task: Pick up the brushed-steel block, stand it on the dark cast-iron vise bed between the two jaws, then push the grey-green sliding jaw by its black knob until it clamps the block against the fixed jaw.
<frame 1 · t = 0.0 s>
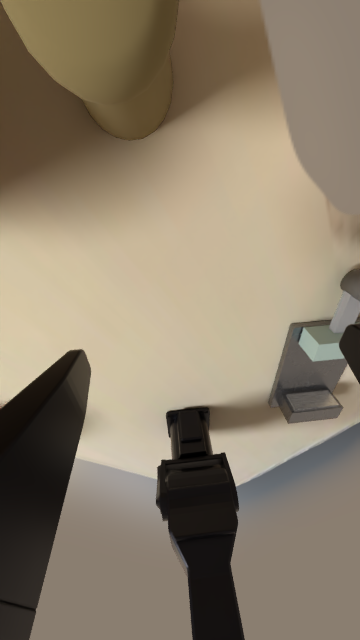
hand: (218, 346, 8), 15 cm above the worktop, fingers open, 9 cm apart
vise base: (311, 362, 31), on the worktop
sliding jaw: (353, 320, 23), point 3 cm above the worktop, slide at 0.0 cm
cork: (125, 80, 14), on the worktop
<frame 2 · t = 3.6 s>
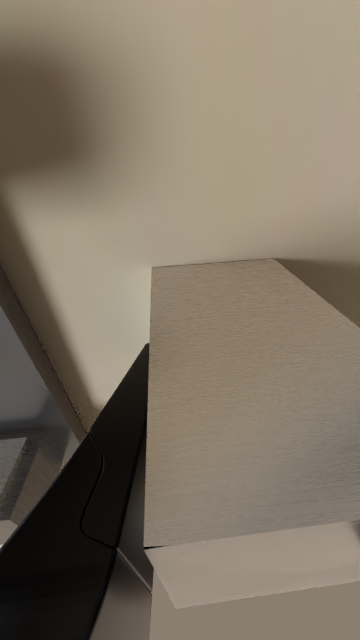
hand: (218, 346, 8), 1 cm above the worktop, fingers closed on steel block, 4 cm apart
steel block: (210, 325, 9), on the worktop, touching gripper
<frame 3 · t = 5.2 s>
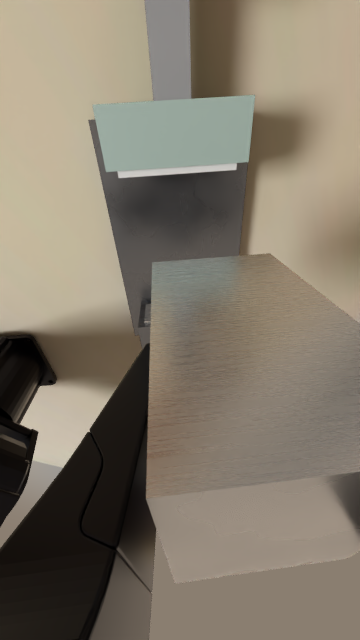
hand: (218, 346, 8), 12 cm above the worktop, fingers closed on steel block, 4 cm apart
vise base: (178, 240, 17), on the worktop
sliding jaw: (169, 38, 9), point 3 cm above the worktop, slide at 0.0 cm
steel block: (209, 319, 9), point 10 cm above the worktop, touching gripper
when the fingers open (3 cm above the worktop, at t = 7.2 s): steel block stays where it is, resting on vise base.
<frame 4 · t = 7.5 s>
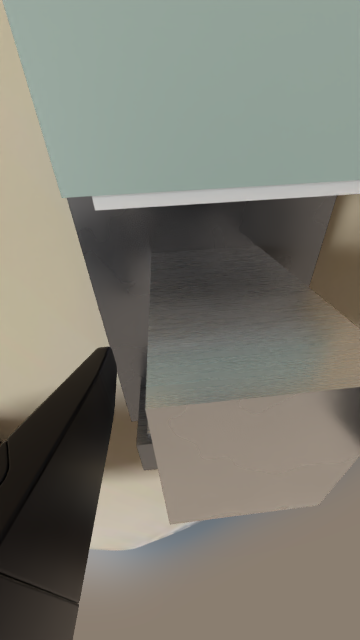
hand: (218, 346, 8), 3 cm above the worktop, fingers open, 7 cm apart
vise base: (202, 296, 11), on the worktop
steel block: (203, 306, 10), point 1 cm above the worktop, touching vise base
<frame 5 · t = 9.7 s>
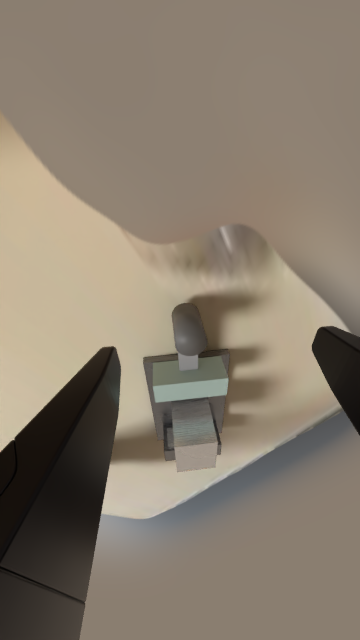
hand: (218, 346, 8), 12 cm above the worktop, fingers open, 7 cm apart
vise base: (187, 395, 28), on the worktop
sliding jaw: (189, 359, 21), point 3 cm above the worktop, slide at 0.0 cm
steel block: (188, 401, 28), point 1 cm above the worktop, touching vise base
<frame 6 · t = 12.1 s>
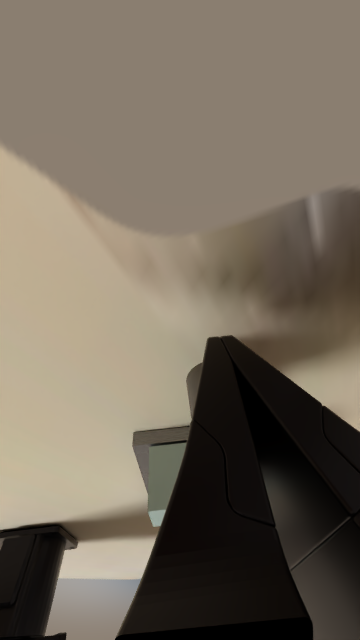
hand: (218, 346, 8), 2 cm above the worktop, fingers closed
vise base: (203, 473, 18), on the worktop
sliding jaw: (218, 462, 11), point 3 cm above the worktop, slide at 0.0 cm, touching gripper
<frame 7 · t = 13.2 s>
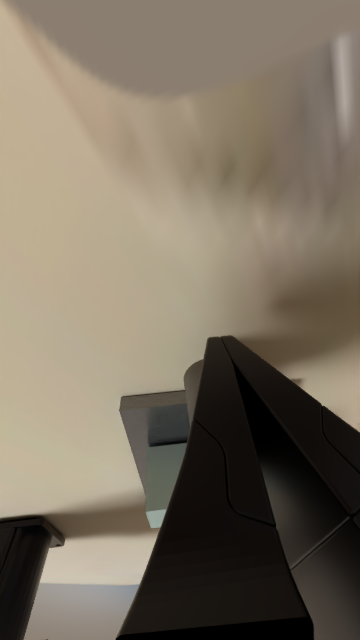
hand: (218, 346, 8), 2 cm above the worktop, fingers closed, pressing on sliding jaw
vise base: (203, 454, 16), on the worktop
sliding jaw: (216, 461, 11), point 3 cm above the worktop, slide at 3.5 cm, touching gripper, steel block
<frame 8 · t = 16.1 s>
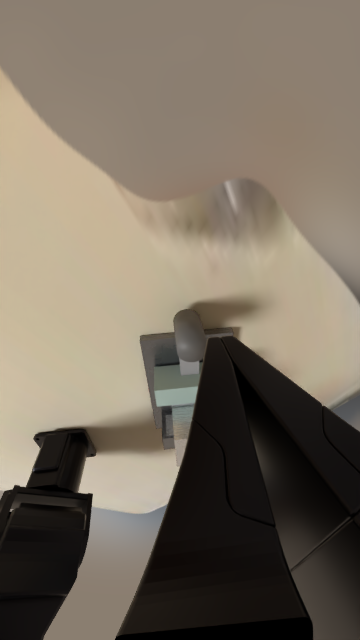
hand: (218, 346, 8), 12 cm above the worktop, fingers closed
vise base: (187, 379, 27), on the worktop
sliding jaw: (190, 364, 21), point 3 cm above the worktop, slide at 3.5 cm, touching steel block
steel block: (188, 394, 27), point 1 cm above the worktop, touching sliding jaw, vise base
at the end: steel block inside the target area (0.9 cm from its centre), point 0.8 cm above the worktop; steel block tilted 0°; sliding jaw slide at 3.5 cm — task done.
